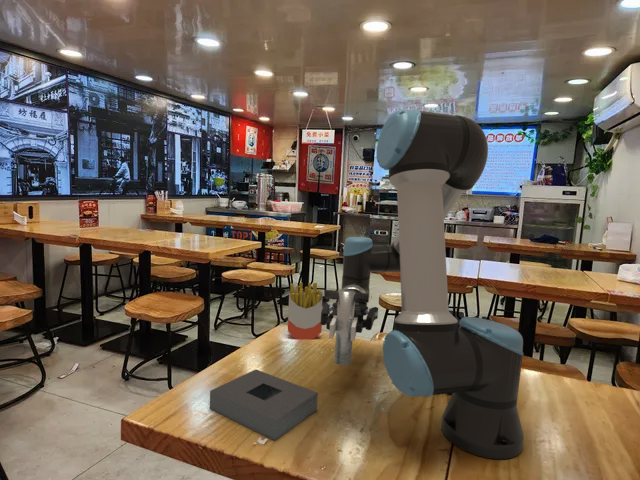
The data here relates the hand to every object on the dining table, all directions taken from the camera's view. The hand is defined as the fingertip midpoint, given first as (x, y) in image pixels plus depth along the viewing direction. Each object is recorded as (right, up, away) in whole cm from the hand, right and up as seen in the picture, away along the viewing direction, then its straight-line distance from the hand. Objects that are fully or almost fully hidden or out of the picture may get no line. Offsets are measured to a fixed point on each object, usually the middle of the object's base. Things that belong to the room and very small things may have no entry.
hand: (342, 332), depth 77 cm
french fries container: (-10, -14, +54) cm, 57 cm away
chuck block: (-16, -18, +9) cm, 26 cm away
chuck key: (0, -8, +6) cm, 10 cm away
